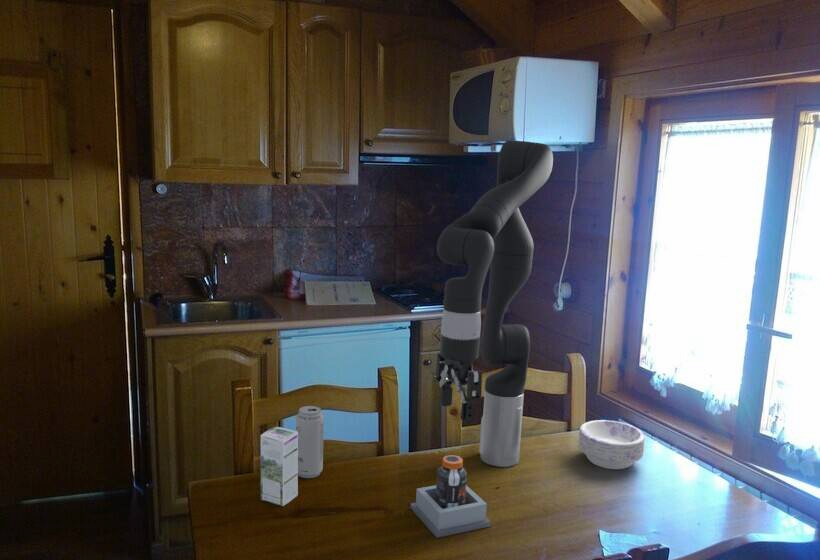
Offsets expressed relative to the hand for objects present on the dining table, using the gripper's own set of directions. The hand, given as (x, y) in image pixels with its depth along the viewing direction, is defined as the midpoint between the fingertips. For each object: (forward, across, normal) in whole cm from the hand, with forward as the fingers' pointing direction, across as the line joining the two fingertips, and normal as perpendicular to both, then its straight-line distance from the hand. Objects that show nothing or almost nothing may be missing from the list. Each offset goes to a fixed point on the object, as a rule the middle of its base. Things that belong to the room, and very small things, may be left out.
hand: (455, 412), depth 135 cm
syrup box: (+22, +19, +30) cm, 42 cm away
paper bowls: (+22, +10, -49) cm, 55 cm away
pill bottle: (+21, 0, 0) cm, 21 cm away
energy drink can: (+22, +28, +21) cm, 41 cm away
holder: (+22, 0, 0) cm, 22 cm away
